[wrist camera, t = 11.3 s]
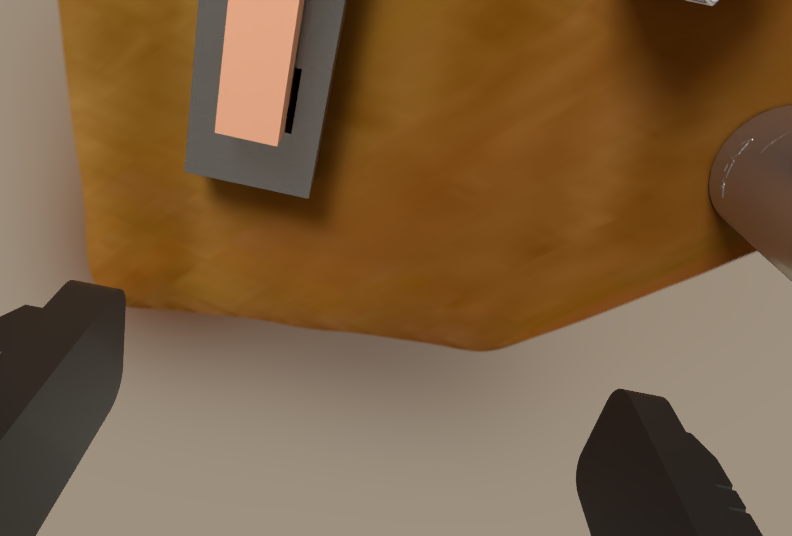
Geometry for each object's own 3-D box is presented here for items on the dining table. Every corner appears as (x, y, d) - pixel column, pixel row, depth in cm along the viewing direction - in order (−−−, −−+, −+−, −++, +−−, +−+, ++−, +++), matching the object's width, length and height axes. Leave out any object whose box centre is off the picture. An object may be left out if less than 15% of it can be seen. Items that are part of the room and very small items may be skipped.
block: (331, -123, 36) (319, -132, 30) (293, 116, 43) (277, 146, 37) (267, -140, 36) (243, -153, 30) (239, 104, 42) (214, 132, 37)
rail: (384, -196, 35) (383, -207, 32) (314, 179, 45) (308, 198, 42) (236, -238, 34) (220, -254, 31) (199, 154, 44) (184, 171, 41)
